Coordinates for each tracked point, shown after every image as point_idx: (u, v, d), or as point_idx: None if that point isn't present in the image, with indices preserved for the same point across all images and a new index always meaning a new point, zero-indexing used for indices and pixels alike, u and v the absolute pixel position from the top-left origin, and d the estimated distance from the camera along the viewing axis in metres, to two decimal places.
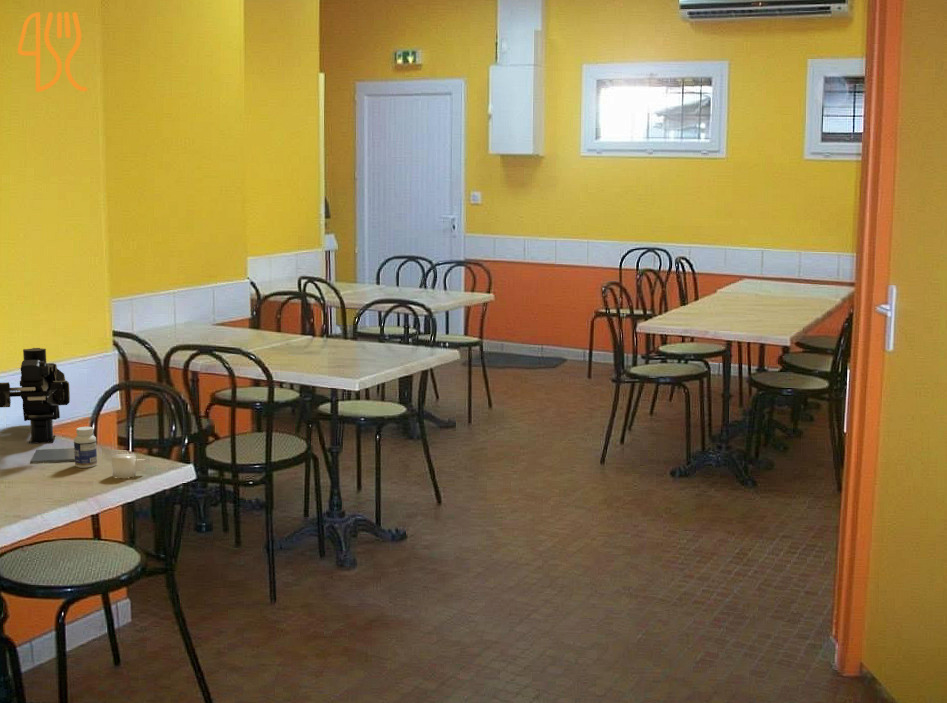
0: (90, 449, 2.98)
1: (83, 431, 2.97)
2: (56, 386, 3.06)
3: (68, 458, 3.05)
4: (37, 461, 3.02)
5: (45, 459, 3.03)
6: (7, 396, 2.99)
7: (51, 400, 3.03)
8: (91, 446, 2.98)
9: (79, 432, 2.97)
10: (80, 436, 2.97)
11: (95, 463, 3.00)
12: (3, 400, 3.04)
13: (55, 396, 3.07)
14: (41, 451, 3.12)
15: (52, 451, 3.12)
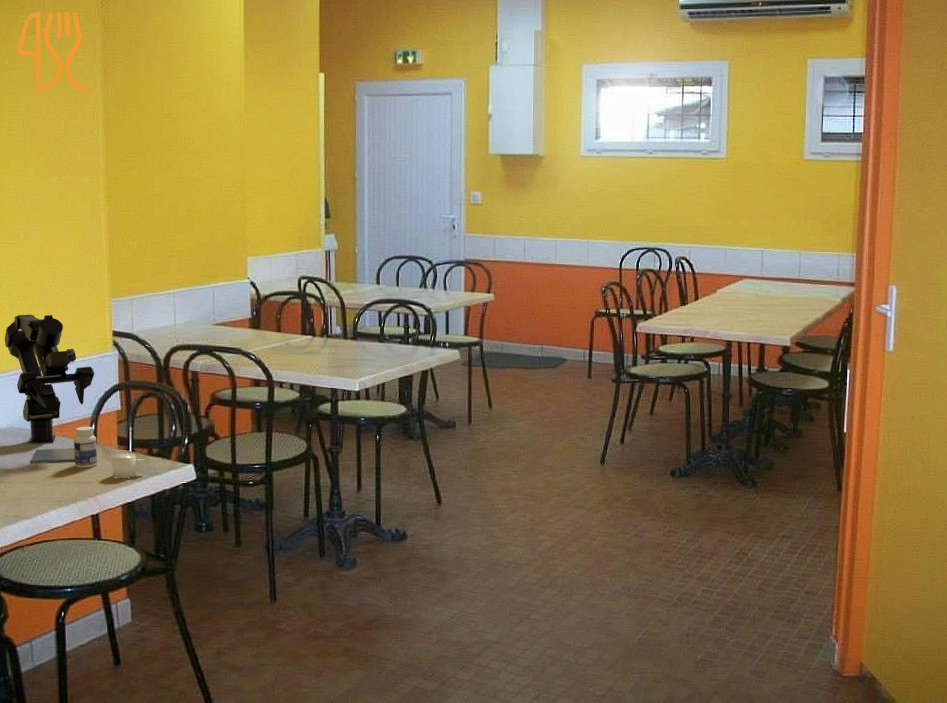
0: (89, 449, 2.98)
1: (83, 431, 2.97)
2: (85, 379, 3.10)
3: (68, 458, 3.05)
4: (37, 461, 3.02)
5: (45, 459, 3.03)
6: (44, 400, 3.02)
7: None
8: (91, 446, 2.98)
9: (79, 432, 2.97)
10: (80, 436, 2.97)
11: (95, 463, 3.00)
12: (31, 391, 3.05)
13: None
14: (41, 451, 3.12)
15: (52, 451, 3.12)
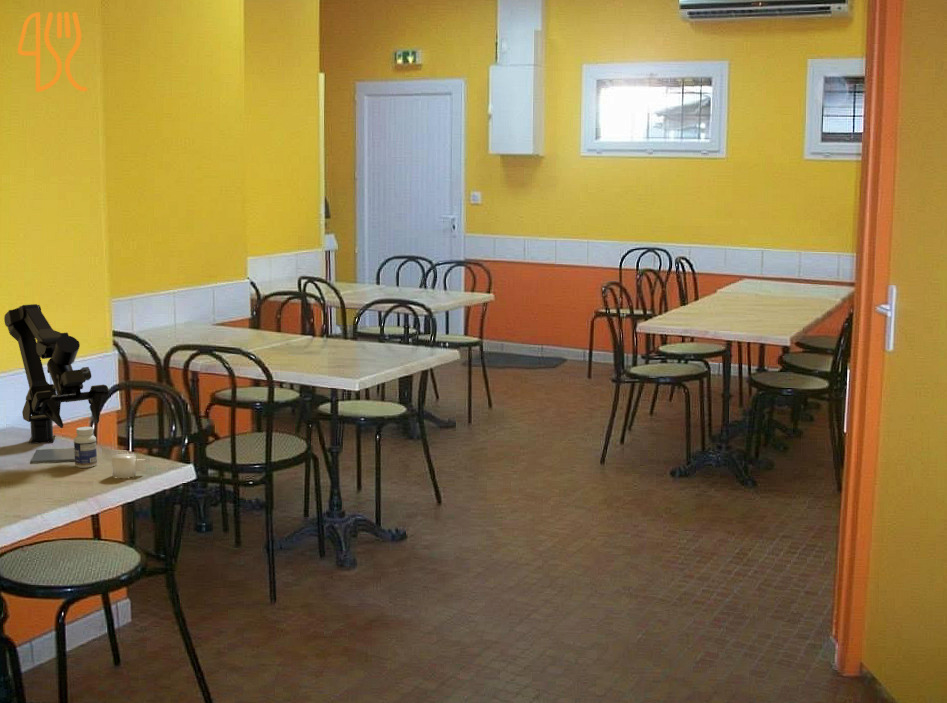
0: (90, 449, 2.98)
1: (83, 431, 2.97)
2: (100, 397, 3.06)
3: (68, 458, 3.05)
4: (37, 461, 3.02)
5: (45, 459, 3.03)
6: (60, 420, 2.98)
7: None
8: (91, 446, 2.98)
9: (79, 432, 2.97)
10: (80, 436, 2.97)
11: (95, 463, 3.00)
12: (46, 410, 3.00)
13: None
14: (41, 451, 3.12)
15: (52, 451, 3.12)
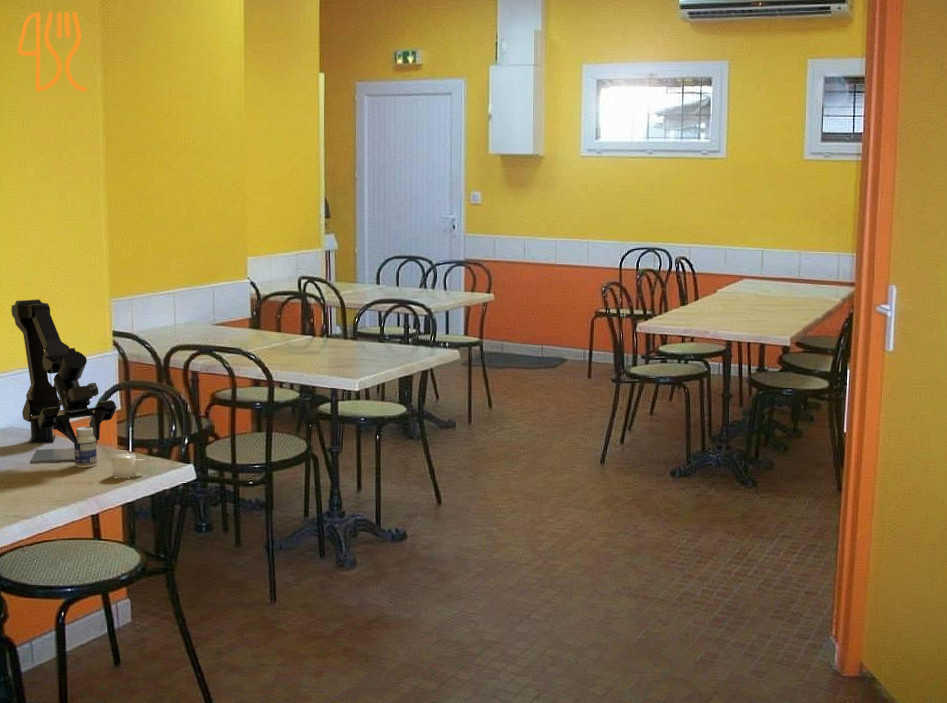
0: (90, 449, 2.98)
1: (83, 431, 2.97)
2: (100, 414, 3.02)
3: (68, 458, 3.05)
4: (37, 461, 3.02)
5: (45, 459, 3.03)
6: (73, 435, 2.96)
7: None
8: (91, 446, 2.98)
9: (79, 432, 2.97)
10: (80, 436, 2.97)
11: (95, 463, 3.00)
12: (59, 425, 2.99)
13: None
14: (41, 451, 3.12)
15: (52, 451, 3.12)
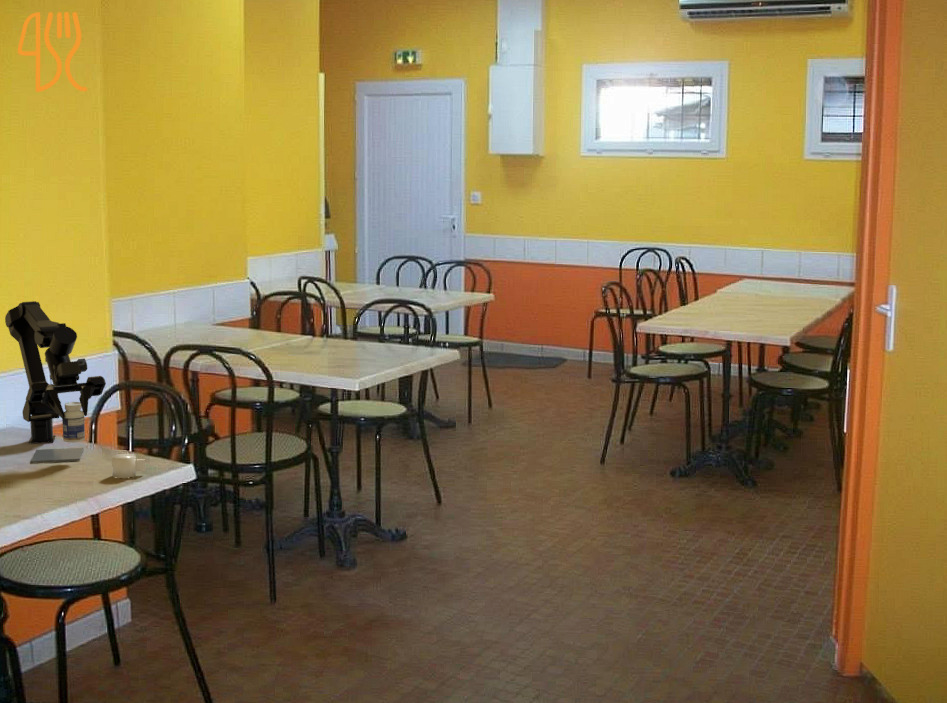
0: (77, 424, 3.00)
1: (71, 406, 2.99)
2: (89, 389, 3.04)
3: (68, 458, 3.05)
4: (37, 461, 3.02)
5: (45, 459, 3.03)
6: (61, 410, 2.99)
7: None
8: (78, 422, 3.00)
9: (67, 407, 3.00)
10: (68, 411, 3.00)
11: (83, 438, 3.02)
12: (48, 400, 3.01)
13: None
14: (41, 451, 3.12)
15: (52, 451, 3.12)
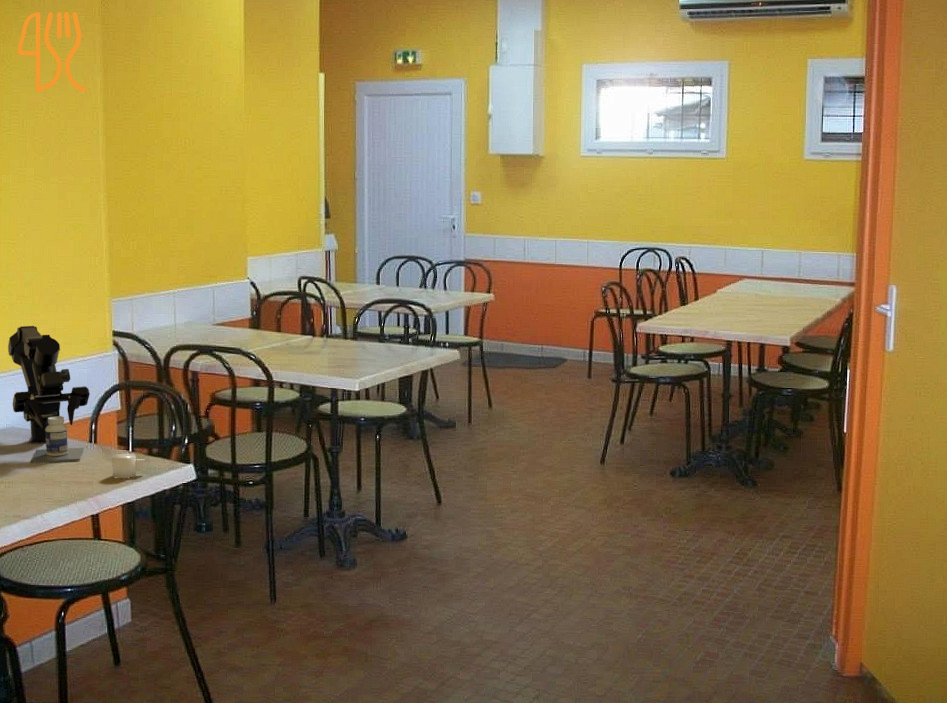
0: (59, 438, 3.06)
1: (53, 420, 3.06)
2: (75, 399, 3.11)
3: (68, 458, 3.05)
4: (37, 461, 3.02)
5: (45, 459, 3.03)
6: (41, 420, 3.05)
7: None
8: (61, 435, 3.06)
9: (49, 421, 3.06)
10: (50, 425, 3.06)
11: (65, 452, 3.08)
12: (29, 409, 3.07)
13: None
14: (41, 451, 3.12)
15: None
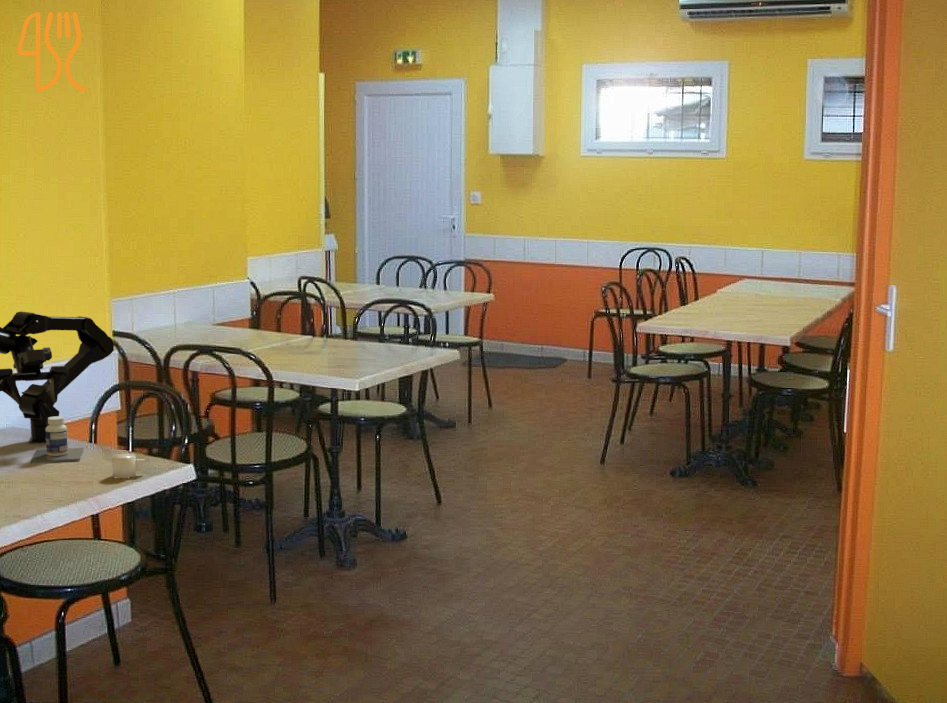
0: (59, 438, 3.06)
1: (53, 420, 3.06)
2: (59, 377, 3.15)
3: (68, 458, 3.05)
4: (37, 461, 3.02)
5: (45, 459, 3.03)
6: (18, 397, 3.06)
7: None
8: (61, 436, 3.06)
9: (50, 421, 3.06)
10: (51, 425, 3.06)
11: (65, 452, 3.08)
12: (6, 387, 3.08)
13: None
14: (41, 451, 3.12)
15: None
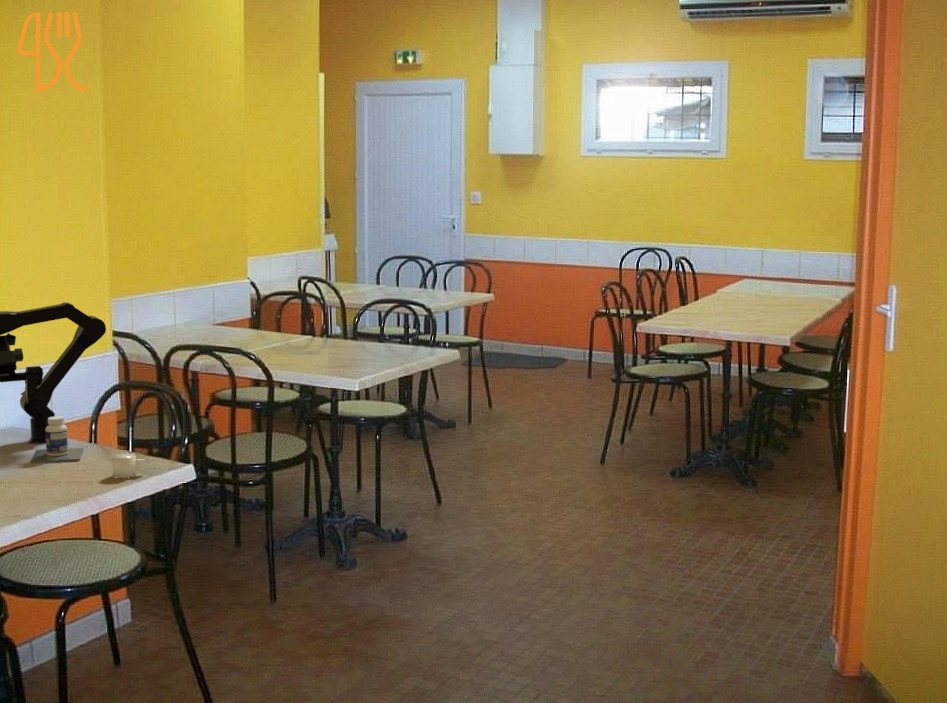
0: (59, 438, 3.06)
1: (53, 420, 3.06)
2: (33, 378, 3.12)
3: (68, 458, 3.05)
4: (37, 461, 3.02)
5: (45, 459, 3.03)
6: None
7: None
8: (61, 436, 3.06)
9: (50, 421, 3.06)
10: (51, 425, 3.06)
11: (65, 452, 3.08)
12: None
13: None
14: (41, 451, 3.12)
15: None
